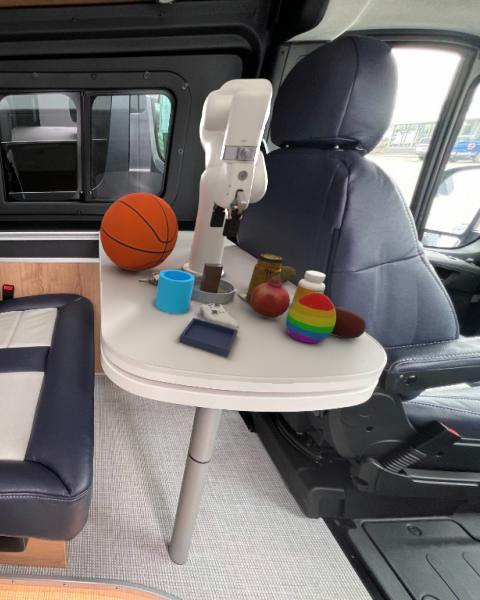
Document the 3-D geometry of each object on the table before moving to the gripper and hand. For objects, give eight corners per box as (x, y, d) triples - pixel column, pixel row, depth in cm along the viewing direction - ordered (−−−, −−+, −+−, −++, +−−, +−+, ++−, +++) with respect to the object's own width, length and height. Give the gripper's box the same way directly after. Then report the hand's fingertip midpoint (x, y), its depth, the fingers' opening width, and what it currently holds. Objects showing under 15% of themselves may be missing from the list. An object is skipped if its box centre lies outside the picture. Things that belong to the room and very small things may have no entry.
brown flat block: (199, 290, 88) (204, 263, 85) (225, 292, 88) (231, 264, 85) (201, 294, 86) (207, 266, 83) (228, 295, 86) (235, 267, 83)
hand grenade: (294, 283, 97) (262, 289, 96) (283, 270, 100) (252, 277, 100) (301, 271, 93) (268, 278, 93) (289, 259, 97) (257, 265, 96)
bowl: (190, 281, 96) (192, 272, 94) (237, 292, 89) (240, 282, 88) (176, 296, 86) (178, 286, 84) (227, 309, 79) (230, 298, 78)
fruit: (283, 313, 78) (296, 275, 74) (284, 328, 72) (298, 286, 67) (247, 306, 81) (257, 268, 77) (245, 319, 75) (256, 279, 71)
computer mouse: (136, 278, 96) (137, 265, 95) (185, 280, 96) (188, 267, 94) (139, 288, 90) (141, 274, 88) (192, 290, 89) (195, 276, 88)
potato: (362, 319, 70) (347, 343, 70) (318, 300, 73) (304, 323, 73) (380, 319, 63) (362, 346, 63) (330, 298, 66) (314, 323, 67)
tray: (192, 324, 72) (193, 317, 71) (236, 337, 67) (237, 330, 67) (179, 342, 65) (180, 334, 64) (227, 357, 61) (229, 350, 60)
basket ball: (78, 249, 108) (95, 179, 94) (131, 244, 120) (154, 181, 106) (120, 291, 93) (147, 215, 79) (175, 280, 106) (208, 212, 92)
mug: (187, 316, 75) (194, 284, 72) (152, 309, 78) (157, 278, 74) (190, 296, 86) (195, 267, 82) (159, 291, 88) (163, 263, 85)
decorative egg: (333, 339, 67) (352, 296, 63) (317, 351, 63) (336, 306, 59) (292, 323, 73) (306, 282, 69) (274, 333, 69) (289, 291, 65)
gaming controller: (243, 317, 67) (209, 314, 67) (239, 333, 68) (205, 330, 69) (228, 298, 76) (198, 295, 77) (224, 313, 78) (195, 310, 78)
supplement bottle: (307, 316, 77) (321, 278, 73) (285, 307, 81) (297, 271, 77) (320, 312, 79) (334, 275, 75) (298, 303, 84) (310, 268, 80)
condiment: (264, 294, 88) (276, 252, 83) (282, 308, 81) (297, 263, 75) (238, 294, 88) (249, 252, 83) (254, 308, 80) (267, 262, 75)
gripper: (274, 157, 64) (252, 241, 71) (240, 155, 80) (225, 224, 87) (236, 156, 64) (218, 239, 72) (210, 154, 80) (197, 223, 87)
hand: (222, 231), depth 79 cm, fingers open, 9 cm apart
